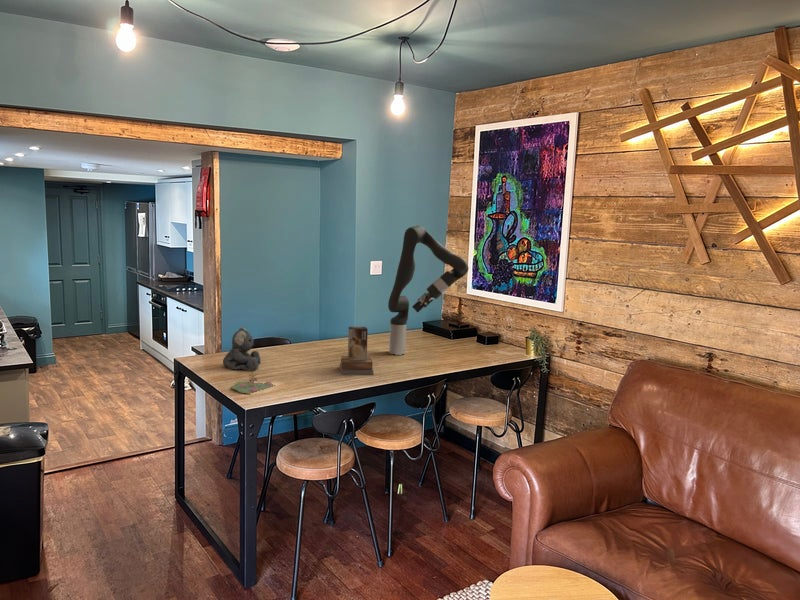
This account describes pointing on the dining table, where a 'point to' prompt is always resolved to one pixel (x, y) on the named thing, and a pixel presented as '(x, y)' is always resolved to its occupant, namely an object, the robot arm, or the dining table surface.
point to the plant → (251, 386)
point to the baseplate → (356, 371)
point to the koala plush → (242, 352)
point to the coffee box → (357, 343)
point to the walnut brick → (356, 364)
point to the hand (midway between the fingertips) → (414, 309)
